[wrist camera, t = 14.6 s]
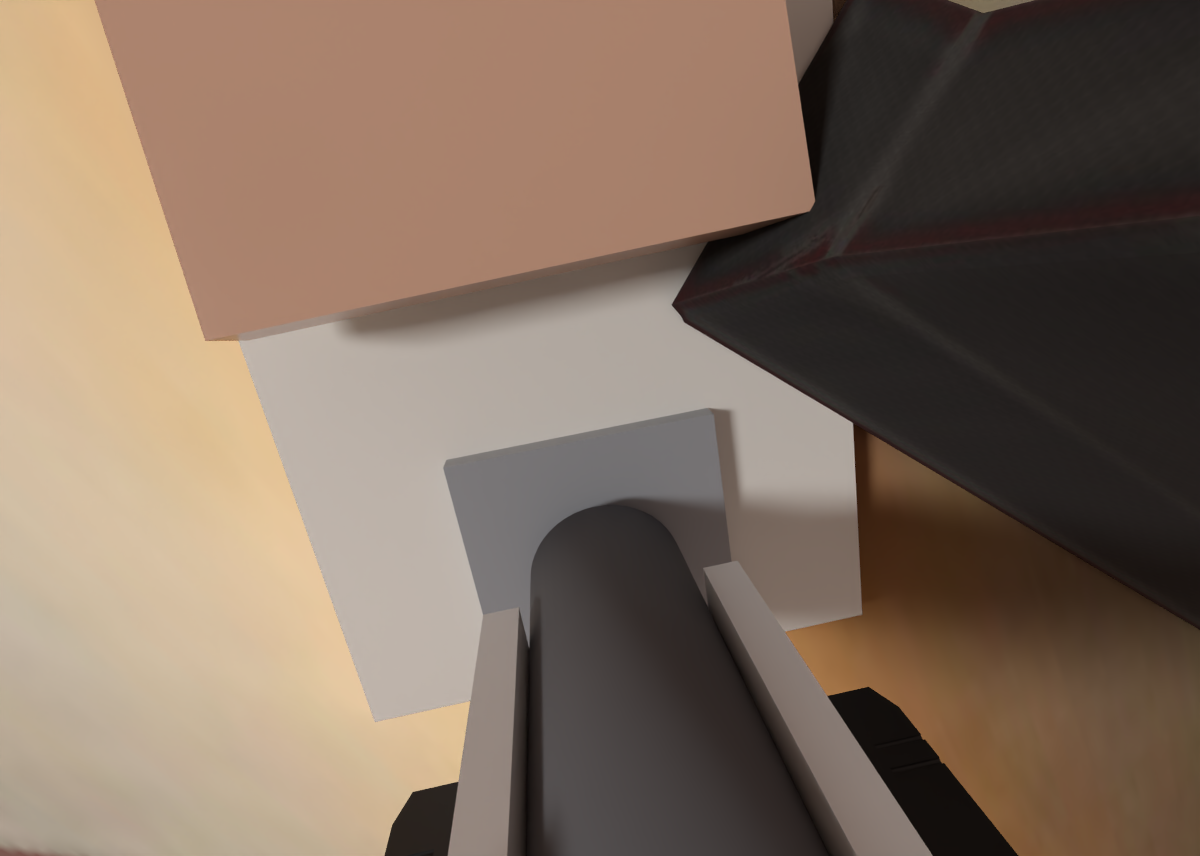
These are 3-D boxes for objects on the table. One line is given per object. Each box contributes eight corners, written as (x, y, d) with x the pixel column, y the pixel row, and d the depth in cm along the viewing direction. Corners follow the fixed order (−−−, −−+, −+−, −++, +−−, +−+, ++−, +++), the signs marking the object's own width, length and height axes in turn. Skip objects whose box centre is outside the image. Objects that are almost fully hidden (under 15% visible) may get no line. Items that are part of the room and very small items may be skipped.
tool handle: (547, 655, 16) (576, 1679, 4) (515, 522, 15) (444, 1451, 3) (691, 623, 16) (1073, 1527, 5) (671, 490, 15) (1115, 1260, 3)
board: (381, 702, 18) (369, 737, 17) (-29, -471, 10) (-111, -578, 9) (849, 599, 19) (872, 626, 18) (783, -564, 11) (816, -674, 10)
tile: (89, -181, 11) (252, 340, 13) (4, -276, 9) (205, 340, 11) (701, -289, 12) (782, 225, 13) (726, -396, 10) (816, 210, 12)
